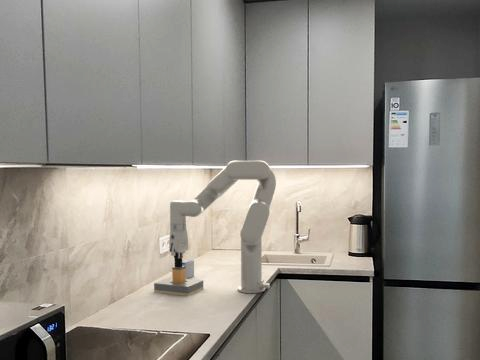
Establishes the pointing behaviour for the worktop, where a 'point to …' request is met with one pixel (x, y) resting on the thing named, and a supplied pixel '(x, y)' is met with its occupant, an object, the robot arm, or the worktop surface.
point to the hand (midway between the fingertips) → (178, 266)
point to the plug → (178, 275)
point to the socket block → (178, 286)
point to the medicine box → (188, 268)
